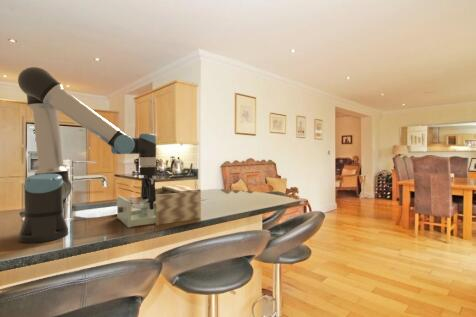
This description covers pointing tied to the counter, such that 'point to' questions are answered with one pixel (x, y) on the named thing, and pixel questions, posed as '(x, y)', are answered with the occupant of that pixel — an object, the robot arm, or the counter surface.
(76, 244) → the counter surface
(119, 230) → the counter surface
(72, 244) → the counter surface
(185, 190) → the case
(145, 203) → the disc
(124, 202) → the tray
